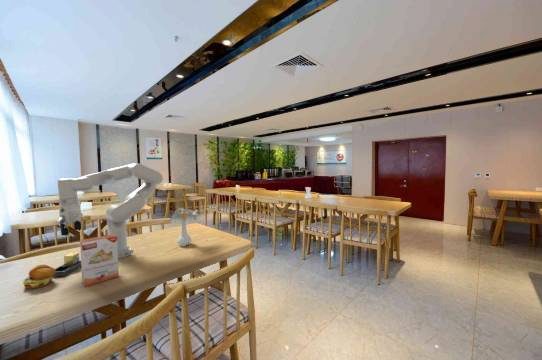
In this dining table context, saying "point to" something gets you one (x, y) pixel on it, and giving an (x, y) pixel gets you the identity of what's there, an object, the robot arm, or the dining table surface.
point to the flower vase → (184, 225)
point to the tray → (66, 269)
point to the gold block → (71, 259)
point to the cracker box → (99, 259)
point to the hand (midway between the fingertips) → (71, 232)
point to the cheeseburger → (39, 276)
